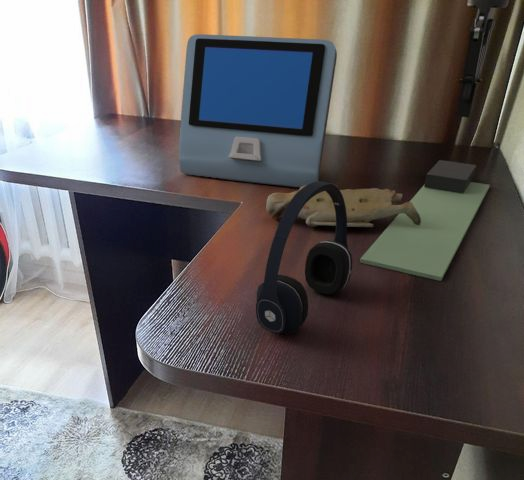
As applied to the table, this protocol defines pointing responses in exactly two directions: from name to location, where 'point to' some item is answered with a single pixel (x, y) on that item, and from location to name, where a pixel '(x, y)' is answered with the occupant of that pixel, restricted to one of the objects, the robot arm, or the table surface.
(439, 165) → the black device
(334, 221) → the statue
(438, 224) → the green mat
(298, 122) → the touchscreen device
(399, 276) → the table surface
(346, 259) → the headphones
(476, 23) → the robot arm
